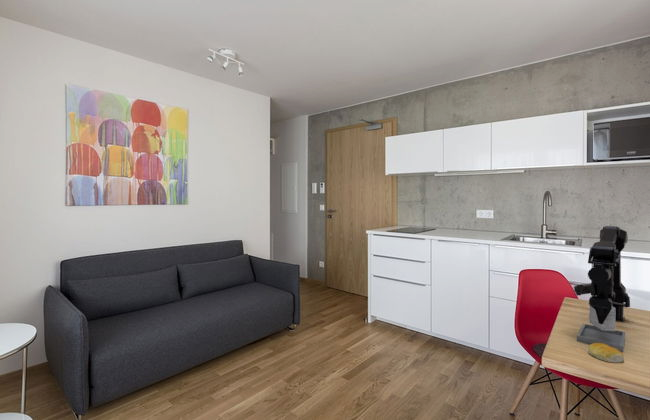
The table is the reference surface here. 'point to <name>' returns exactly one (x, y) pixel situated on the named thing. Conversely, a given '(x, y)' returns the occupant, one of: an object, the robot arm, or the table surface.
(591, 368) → the table surface
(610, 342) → the tray
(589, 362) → the table surface
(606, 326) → the medicine box
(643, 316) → the table surface
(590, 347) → the bread roll
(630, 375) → the table surface
